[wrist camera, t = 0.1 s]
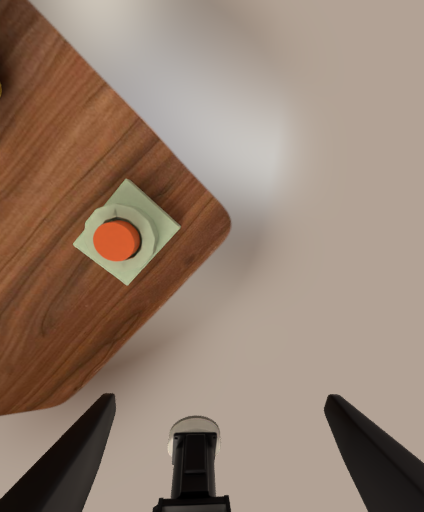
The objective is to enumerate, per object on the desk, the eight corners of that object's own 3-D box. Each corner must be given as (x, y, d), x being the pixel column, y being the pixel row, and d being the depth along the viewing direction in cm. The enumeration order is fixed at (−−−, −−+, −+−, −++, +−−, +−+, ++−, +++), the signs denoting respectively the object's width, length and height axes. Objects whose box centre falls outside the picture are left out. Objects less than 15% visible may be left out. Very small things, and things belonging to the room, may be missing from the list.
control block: (130, 281, 23) (121, 293, 20) (78, 242, 21) (60, 248, 19) (181, 226, 22) (178, 230, 19) (129, 179, 20) (118, 176, 17)
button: (125, 263, 20) (118, 269, 18) (94, 239, 19) (84, 243, 17) (147, 238, 19) (142, 241, 17) (117, 212, 18) (109, 213, 17)
